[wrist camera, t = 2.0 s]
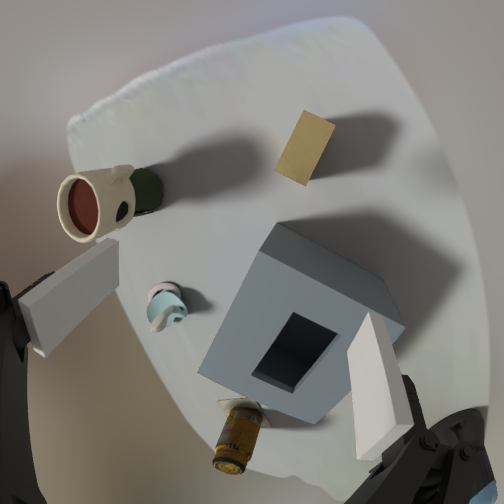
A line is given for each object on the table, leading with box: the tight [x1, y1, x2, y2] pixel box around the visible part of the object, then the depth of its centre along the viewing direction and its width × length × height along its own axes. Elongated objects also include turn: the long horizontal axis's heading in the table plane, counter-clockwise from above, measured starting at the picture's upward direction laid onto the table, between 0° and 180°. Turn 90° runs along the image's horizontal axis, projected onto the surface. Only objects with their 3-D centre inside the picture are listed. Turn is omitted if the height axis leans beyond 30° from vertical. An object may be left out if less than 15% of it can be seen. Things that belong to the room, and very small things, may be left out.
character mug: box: [57, 165, 163, 242], centre depth 30 cm, size 11×7×13 cm, turn 130°
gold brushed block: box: [274, 110, 336, 186], centre depth 26 cm, size 3×6×8 cm, turn 155°
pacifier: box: [147, 283, 188, 332], centre depth 37 cm, size 7×6×6 cm
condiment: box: [213, 398, 271, 475], centre depth 39 cm, size 7×8×12 cm
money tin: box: [197, 223, 406, 425], centre depth 31 cm, size 15×16×11 cm
